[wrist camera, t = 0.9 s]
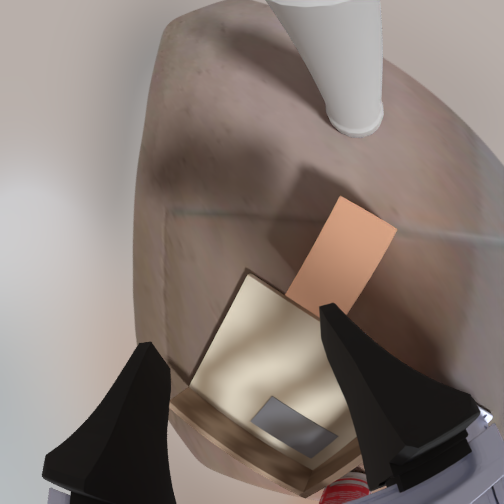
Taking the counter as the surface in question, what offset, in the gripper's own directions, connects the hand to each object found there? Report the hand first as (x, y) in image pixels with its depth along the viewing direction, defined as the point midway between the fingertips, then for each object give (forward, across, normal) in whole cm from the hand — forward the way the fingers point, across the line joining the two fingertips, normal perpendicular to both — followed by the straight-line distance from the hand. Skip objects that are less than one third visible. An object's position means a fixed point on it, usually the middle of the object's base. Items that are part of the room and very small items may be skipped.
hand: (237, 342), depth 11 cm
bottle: (+16, -13, -6) cm, 22 cm away
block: (+11, -9, +5) cm, 15 cm away
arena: (+7, -2, +18) cm, 19 cm away
